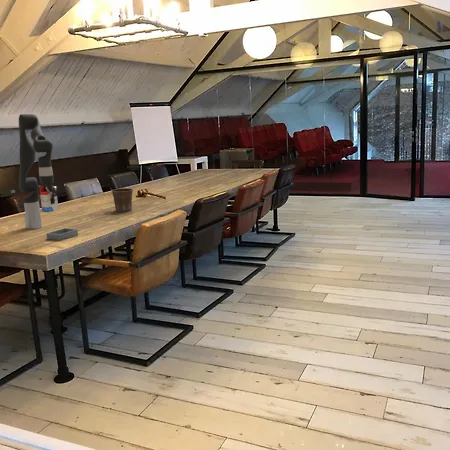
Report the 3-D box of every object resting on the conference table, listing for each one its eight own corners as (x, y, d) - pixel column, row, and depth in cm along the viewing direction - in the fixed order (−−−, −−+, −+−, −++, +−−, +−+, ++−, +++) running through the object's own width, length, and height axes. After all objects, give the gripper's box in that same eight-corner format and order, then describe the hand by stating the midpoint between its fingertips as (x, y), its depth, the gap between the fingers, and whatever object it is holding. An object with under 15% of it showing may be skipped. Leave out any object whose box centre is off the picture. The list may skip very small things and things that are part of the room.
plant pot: (137, 211, 371) (135, 190, 367) (115, 213, 364) (114, 192, 361) (131, 207, 385) (129, 187, 382) (111, 210, 379) (109, 189, 375)
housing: (46, 239, 290) (46, 233, 289) (65, 233, 302) (64, 228, 301) (59, 240, 285) (59, 234, 284) (78, 235, 297) (77, 229, 297)
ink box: (48, 212, 282) (45, 187, 279) (42, 212, 284) (39, 187, 281) (58, 209, 290) (56, 185, 287) (52, 209, 292) (49, 185, 289)
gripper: (60, 174, 282) (63, 203, 286) (42, 173, 289) (46, 201, 293) (49, 175, 276) (52, 205, 279) (32, 175, 283) (35, 204, 286)
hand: (49, 203), depth 286 cm, fingers closed on ink box, 5 cm apart
